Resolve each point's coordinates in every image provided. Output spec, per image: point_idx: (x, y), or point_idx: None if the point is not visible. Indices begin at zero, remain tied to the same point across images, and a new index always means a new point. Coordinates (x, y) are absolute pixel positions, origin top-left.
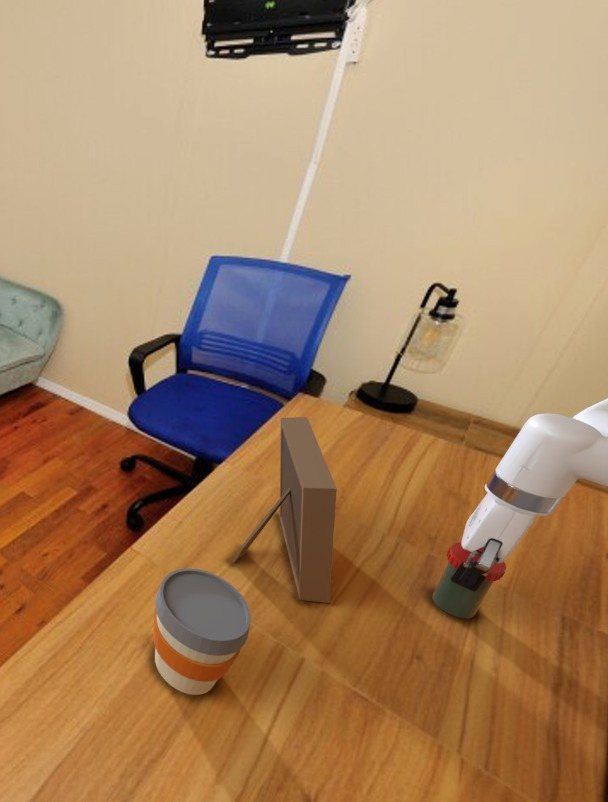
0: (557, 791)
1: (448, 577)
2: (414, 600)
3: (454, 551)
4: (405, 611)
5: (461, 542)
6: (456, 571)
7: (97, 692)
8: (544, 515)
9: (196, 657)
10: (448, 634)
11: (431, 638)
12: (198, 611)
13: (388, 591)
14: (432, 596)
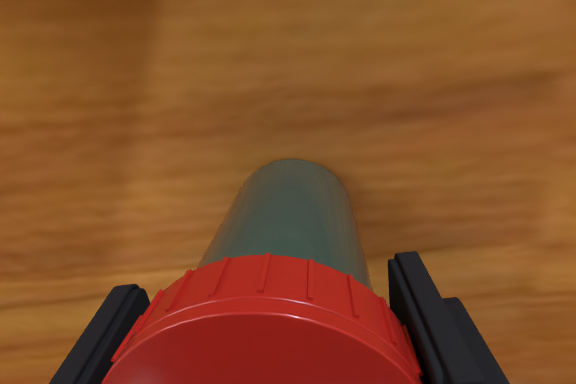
0: None
1: (212, 245)
2: (200, 126)
3: (184, 343)
4: (112, 124)
5: (375, 356)
6: (77, 344)
7: None
8: None
9: None
10: (144, 237)
11: (76, 212)
12: None
13: (155, 43)
14: (275, 162)
